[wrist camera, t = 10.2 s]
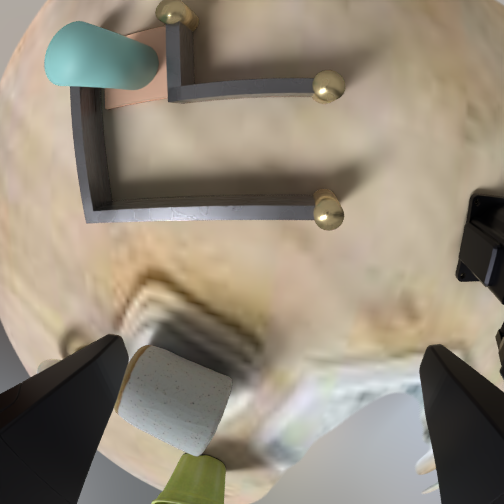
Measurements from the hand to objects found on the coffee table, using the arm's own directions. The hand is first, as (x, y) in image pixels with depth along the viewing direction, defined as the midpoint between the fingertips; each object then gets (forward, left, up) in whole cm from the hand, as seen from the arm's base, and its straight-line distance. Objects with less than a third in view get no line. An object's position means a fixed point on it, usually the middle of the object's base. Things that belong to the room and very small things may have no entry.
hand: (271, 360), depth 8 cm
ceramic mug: (+9, +15, -13) cm, 22 cm away
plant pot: (+10, +33, -13) cm, 37 cm away
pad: (+9, -10, -12) cm, 19 cm away
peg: (+9, -10, -12) cm, 18 cm away
